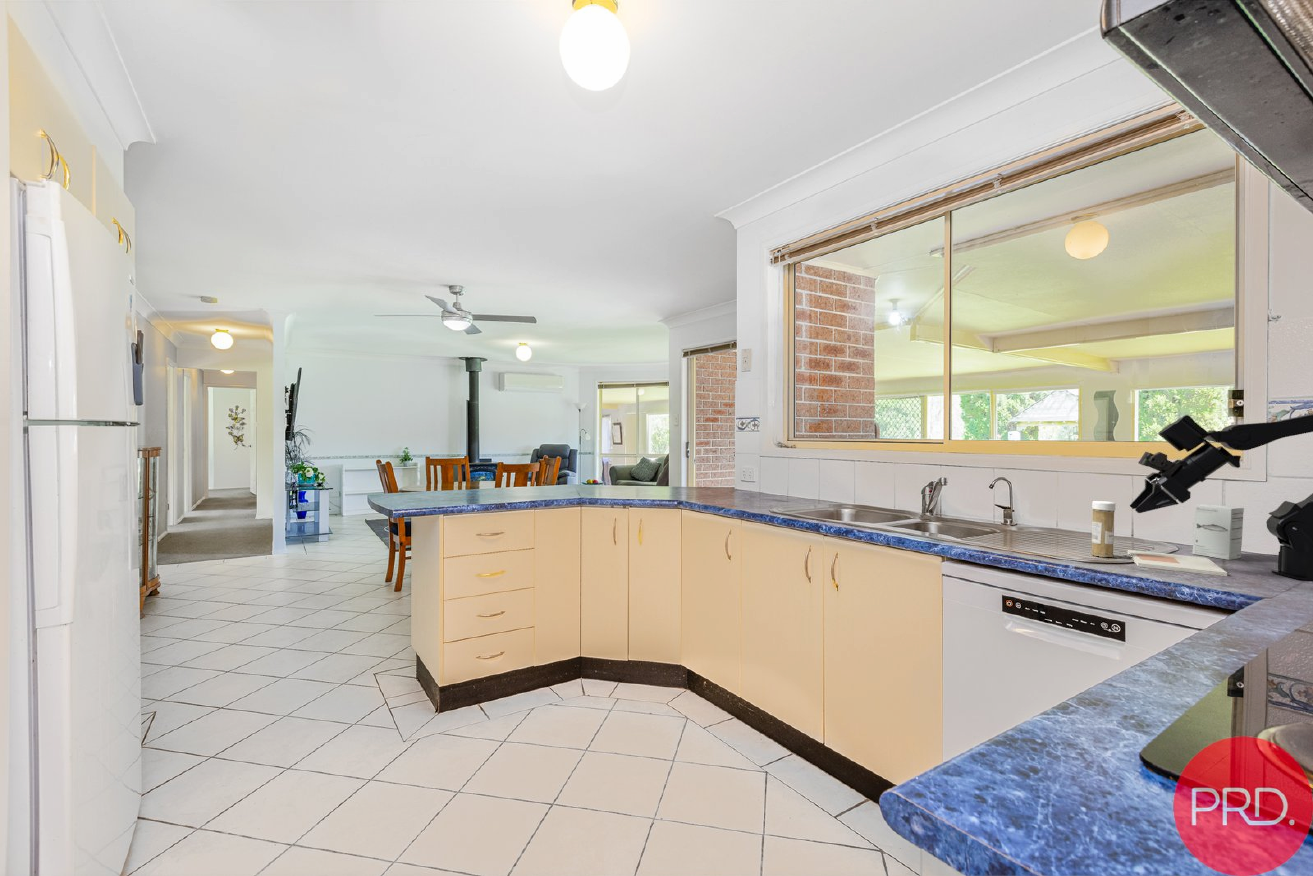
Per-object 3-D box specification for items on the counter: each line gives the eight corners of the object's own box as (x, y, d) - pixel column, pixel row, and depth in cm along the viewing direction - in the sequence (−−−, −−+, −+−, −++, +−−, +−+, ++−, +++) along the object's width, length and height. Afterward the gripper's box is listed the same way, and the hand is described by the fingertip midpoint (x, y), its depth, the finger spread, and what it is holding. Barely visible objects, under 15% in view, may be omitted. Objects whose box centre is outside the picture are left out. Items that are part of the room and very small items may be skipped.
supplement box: (1191, 554, 152) (1193, 504, 152) (1204, 552, 155) (1206, 503, 155) (1229, 560, 145) (1231, 508, 145) (1242, 557, 149) (1244, 507, 149)
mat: (1206, 561, 144) (1206, 557, 144) (1227, 576, 129) (1227, 572, 129) (1127, 552, 152) (1127, 549, 152) (1138, 566, 137) (1138, 562, 137)
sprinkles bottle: (1116, 559, 145) (1118, 503, 144) (1093, 557, 146) (1095, 502, 146) (1110, 555, 149) (1112, 501, 148) (1088, 553, 150) (1090, 500, 150)
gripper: (1158, 440, 149) (1101, 481, 155) (1173, 441, 133) (1109, 487, 139) (1199, 473, 145) (1139, 514, 151) (1219, 479, 129) (1151, 524, 135)
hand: (1133, 509), depth 144 cm, fingers open, 9 cm apart
